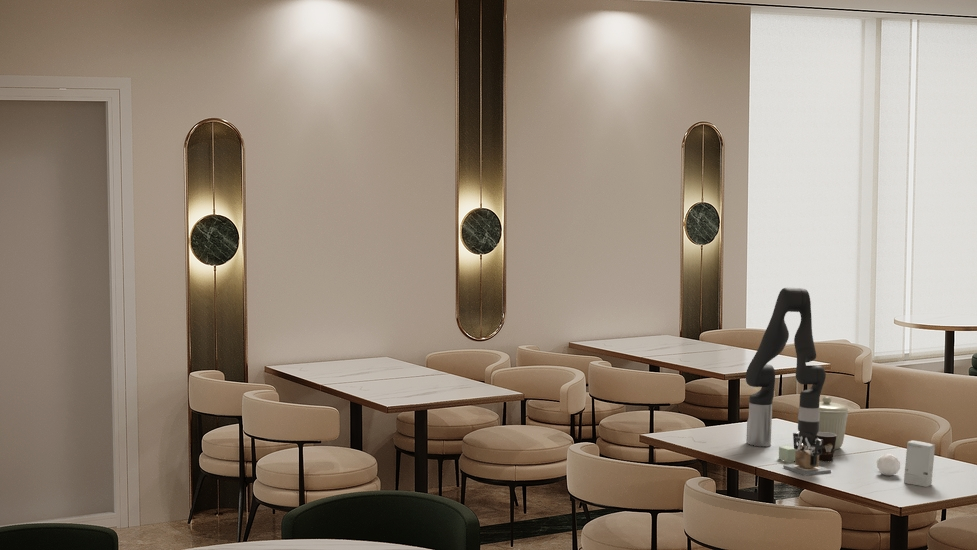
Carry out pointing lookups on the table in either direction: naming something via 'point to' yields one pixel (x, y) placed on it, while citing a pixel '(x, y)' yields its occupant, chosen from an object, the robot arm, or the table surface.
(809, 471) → the slate board
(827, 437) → the coffee mug
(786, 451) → the sage cube
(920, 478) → the skincare box
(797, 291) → the robot arm
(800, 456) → the walnut block
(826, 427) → the canister
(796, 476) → the table surface
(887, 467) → the white rounded lump
